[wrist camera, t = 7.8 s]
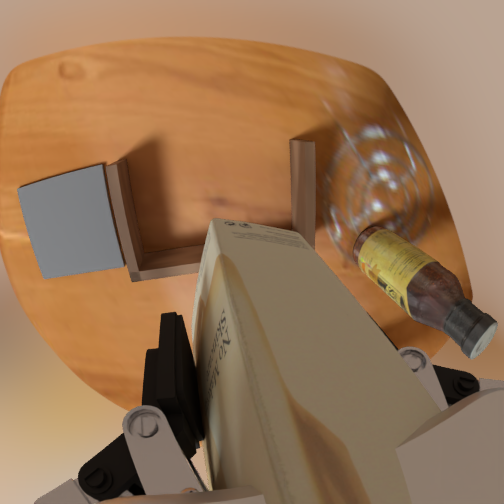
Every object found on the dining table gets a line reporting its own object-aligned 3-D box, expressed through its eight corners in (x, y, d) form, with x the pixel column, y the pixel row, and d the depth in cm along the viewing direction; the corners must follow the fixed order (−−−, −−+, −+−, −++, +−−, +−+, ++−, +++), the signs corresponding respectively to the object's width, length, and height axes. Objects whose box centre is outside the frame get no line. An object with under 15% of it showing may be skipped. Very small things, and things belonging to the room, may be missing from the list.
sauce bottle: (342, 260, 34) (448, 371, 17) (365, 216, 32) (494, 305, 15) (375, 274, 36) (473, 370, 19) (397, 234, 34) (510, 316, 17)
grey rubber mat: (103, 164, 24) (101, 164, 23) (125, 265, 29) (124, 266, 28) (18, 188, 22) (17, 189, 22) (45, 277, 27) (43, 279, 26)
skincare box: (209, 214, 12) (310, 575, 1) (300, 230, 13) (497, 460, 2) (188, 330, 14) (220, 574, 4) (265, 335, 16) (348, 544, 5)
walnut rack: (298, 139, 27) (314, 142, 23) (300, 239, 32) (314, 254, 28) (116, 160, 24) (105, 166, 20) (137, 263, 29) (131, 282, 25)
